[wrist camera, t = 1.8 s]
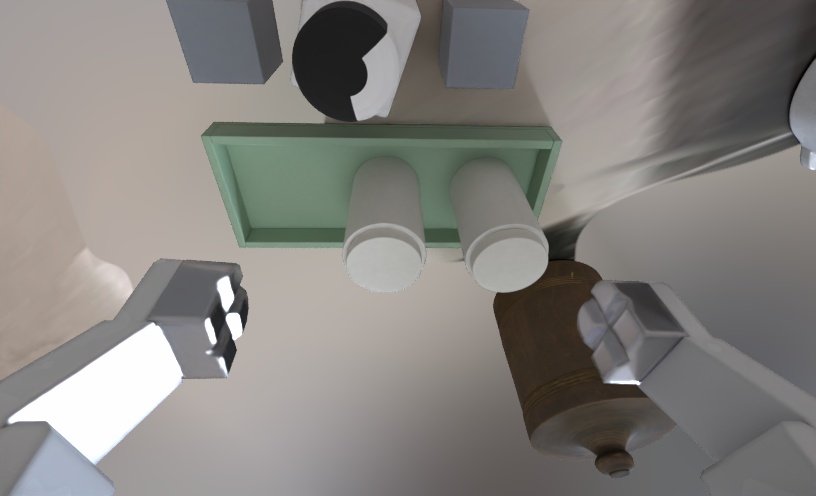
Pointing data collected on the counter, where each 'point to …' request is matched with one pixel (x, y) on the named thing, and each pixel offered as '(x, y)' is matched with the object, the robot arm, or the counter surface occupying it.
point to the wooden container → (571, 376)
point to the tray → (337, 165)
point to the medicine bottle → (353, 54)
